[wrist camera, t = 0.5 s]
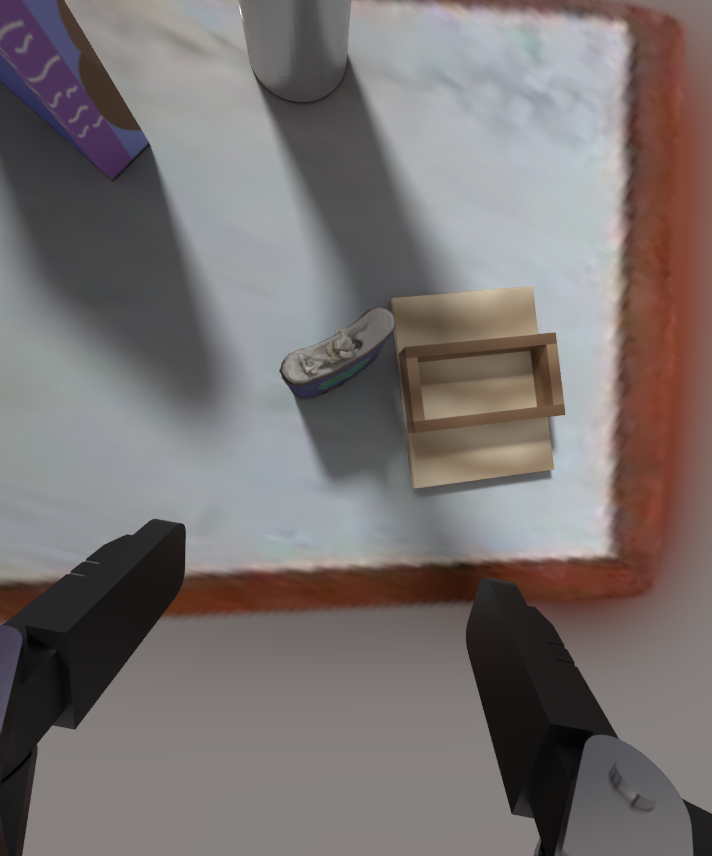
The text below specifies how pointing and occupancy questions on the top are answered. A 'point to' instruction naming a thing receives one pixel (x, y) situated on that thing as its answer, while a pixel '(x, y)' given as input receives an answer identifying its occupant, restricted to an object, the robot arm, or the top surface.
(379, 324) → the flask
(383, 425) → the top surface
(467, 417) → the slot board
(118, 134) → the cereal box
